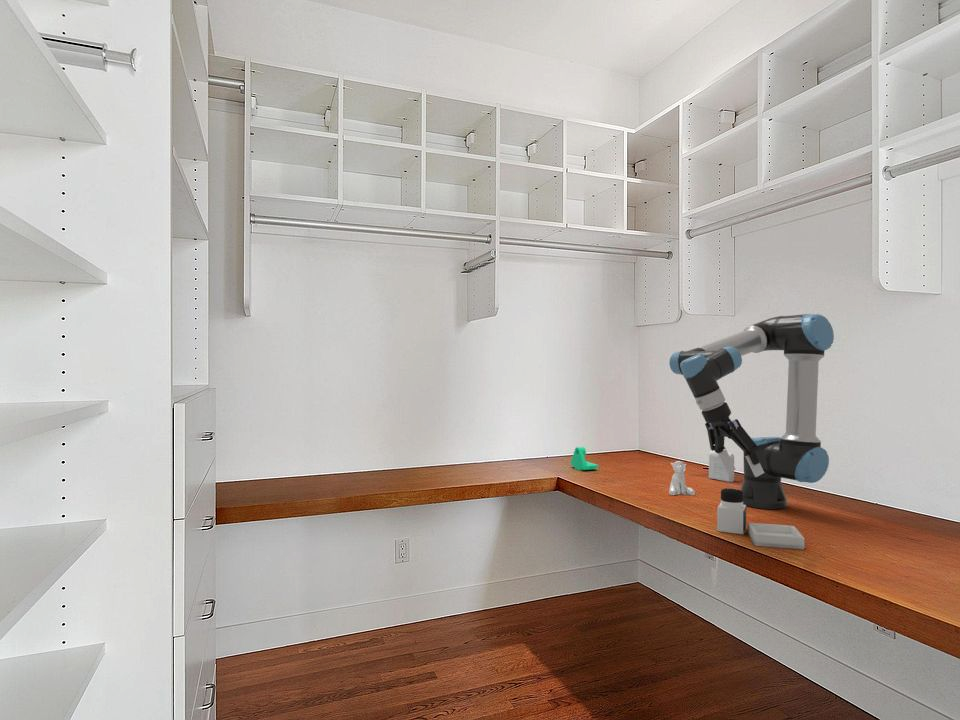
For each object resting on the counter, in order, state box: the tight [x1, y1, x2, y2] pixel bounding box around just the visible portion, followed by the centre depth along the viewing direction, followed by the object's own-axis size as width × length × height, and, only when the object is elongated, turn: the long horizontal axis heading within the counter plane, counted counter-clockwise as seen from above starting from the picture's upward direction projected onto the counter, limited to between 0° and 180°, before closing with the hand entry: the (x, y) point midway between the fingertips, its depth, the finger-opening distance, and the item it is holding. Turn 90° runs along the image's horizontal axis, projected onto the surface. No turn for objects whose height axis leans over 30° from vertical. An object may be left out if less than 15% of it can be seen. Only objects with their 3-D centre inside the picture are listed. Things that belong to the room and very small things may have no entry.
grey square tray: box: [747, 522, 805, 550], centre depth 163 cm, size 12×12×3 cm
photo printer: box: [708, 449, 735, 483], centre depth 245 cm, size 10×4×12 cm, turn 38°
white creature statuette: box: [668, 460, 696, 496], centre depth 221 cm, size 10×9×12 cm
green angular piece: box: [570, 446, 599, 471], centre depth 271 cm, size 12×8×10 cm, turn 20°
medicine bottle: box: [716, 487, 747, 535], centre depth 174 cm, size 7×7×12 cm
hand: (745, 473), depth 171 cm, fingers open, 13 cm apart
